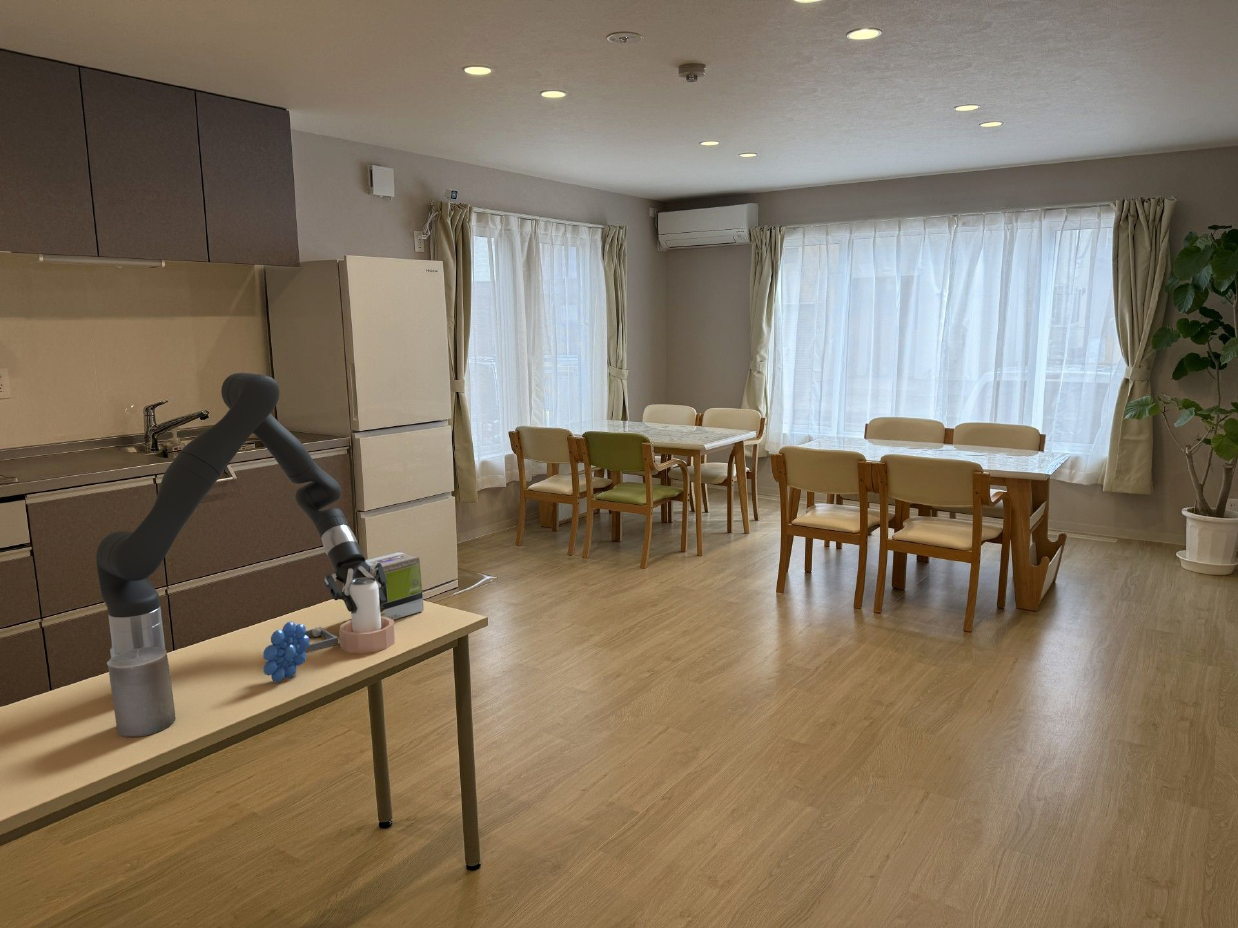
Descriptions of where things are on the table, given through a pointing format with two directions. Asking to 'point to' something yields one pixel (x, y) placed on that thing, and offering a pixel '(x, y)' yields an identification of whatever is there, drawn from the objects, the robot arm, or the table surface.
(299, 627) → the blue lumpy cluster
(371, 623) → the can
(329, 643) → the tray
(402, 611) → the tea box
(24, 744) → the table surface
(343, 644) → the bowl
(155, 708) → the pillar candle
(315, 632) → the pebbles
